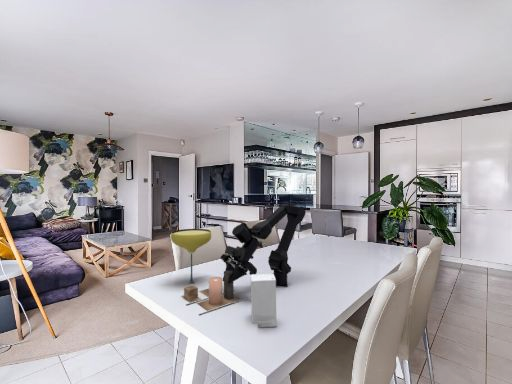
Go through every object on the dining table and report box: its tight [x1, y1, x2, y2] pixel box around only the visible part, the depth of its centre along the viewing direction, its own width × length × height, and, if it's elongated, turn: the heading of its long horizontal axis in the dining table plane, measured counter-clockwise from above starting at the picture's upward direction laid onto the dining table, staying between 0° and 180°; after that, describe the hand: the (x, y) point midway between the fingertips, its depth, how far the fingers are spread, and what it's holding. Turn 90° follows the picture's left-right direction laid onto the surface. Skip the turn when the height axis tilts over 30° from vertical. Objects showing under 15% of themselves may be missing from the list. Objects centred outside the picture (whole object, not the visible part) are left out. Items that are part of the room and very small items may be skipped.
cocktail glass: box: [170, 228, 212, 285], centre depth 121 cm, size 18×18×25 cm
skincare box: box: [250, 273, 277, 328], centre depth 88 cm, size 8×7×16 cm
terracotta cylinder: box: [208, 276, 223, 305], centre depth 100 cm, size 5×5×9 cm
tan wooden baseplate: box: [195, 270, 244, 312], centre depth 101 cm, size 16×8×12 cm, turn 130°
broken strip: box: [180, 287, 209, 304], centre depth 107 cm, size 14×8×1 cm, turn 130°
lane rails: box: [185, 289, 250, 317], centre depth 101 cm, size 22×11×1 cm, turn 130°
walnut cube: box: [183, 284, 199, 302], centre depth 105 cm, size 4×4×4 cm
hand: (225, 282), depth 103 cm, fingers closed on tan wooden baseplate, 3 cm apart
